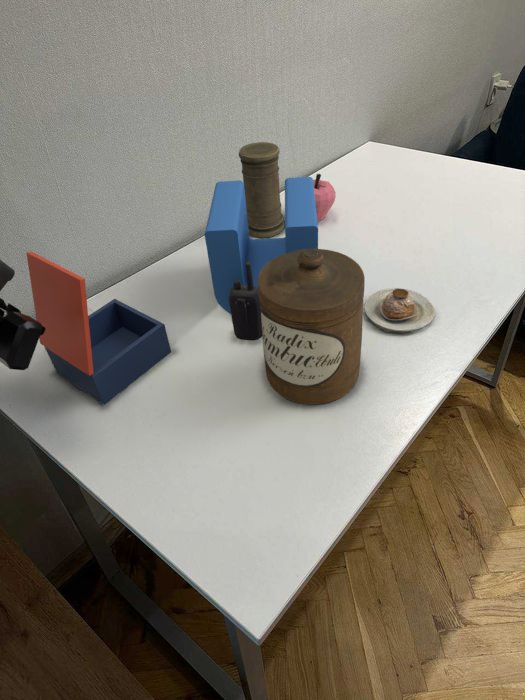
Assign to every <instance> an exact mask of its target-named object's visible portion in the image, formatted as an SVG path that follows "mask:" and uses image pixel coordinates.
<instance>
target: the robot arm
mask: <svg viewBox="0 0 525 700" xmlns="http://www.w3.org/2000/svg"><path fill="white" fill-rule="evenodd" d="M15 273H16V272H15V270H14V268H12V267H11V266H10V265H8V264H7V263H6V262H4V261H3V260H2V259H0V292H1V291H2V290H3V288H4V287H5V286H6V285H7V284H8V282H11V281H12V280H13V278H14V277H15ZM45 329H46V328H45V327H44V326H42V325H41V323H39V322H38V321H37V320H36V319H34V318H33V317H31V316H30V315H26V314H24V313H22V311H21V310H20V309H19V308H18V307H16V306H14V305H13V304H11V303H7V304H6V302H5V300H4V299H3V298H2V297H0V363H1V364H2V365H4V366H5V367H6V368H7V369H9V370H14V371H26V370H27V369H29V366H30V364H31V361H32V359H33V356H34V353H35V351H36V348H37V345H38V342H39V341H40V339H39V337H40V336H41V335H43V334H44V332H45Z"/></svg>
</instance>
